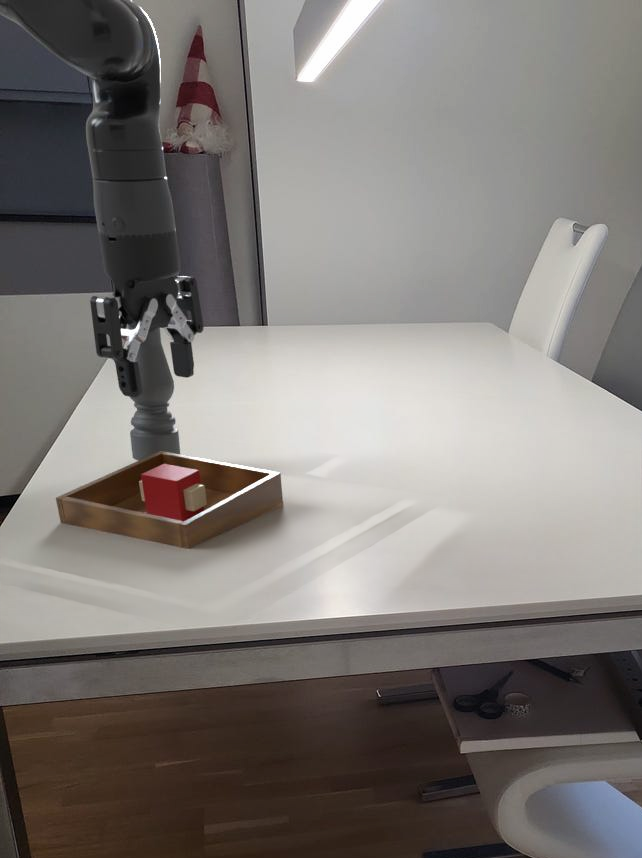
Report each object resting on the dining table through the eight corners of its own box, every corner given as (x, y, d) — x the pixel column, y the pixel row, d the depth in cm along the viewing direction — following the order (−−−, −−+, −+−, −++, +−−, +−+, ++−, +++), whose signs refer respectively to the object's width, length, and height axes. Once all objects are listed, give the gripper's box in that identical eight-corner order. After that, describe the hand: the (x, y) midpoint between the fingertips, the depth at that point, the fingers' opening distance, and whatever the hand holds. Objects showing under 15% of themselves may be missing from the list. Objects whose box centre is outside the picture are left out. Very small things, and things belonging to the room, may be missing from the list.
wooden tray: (62, 533, 116) (55, 497, 114) (165, 483, 131) (160, 450, 128) (190, 562, 110) (185, 525, 108) (283, 506, 124) (280, 472, 122)
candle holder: (190, 453, 141) (173, 256, 130) (163, 464, 135) (143, 260, 125) (150, 448, 142) (131, 253, 132) (122, 458, 137) (100, 257, 127)
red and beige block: (138, 513, 120) (132, 472, 117) (161, 502, 123) (155, 461, 120) (190, 524, 117) (185, 482, 115) (212, 512, 120) (207, 471, 118)
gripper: (153, 216, 112) (173, 366, 120) (56, 232, 101) (85, 398, 109) (210, 220, 109) (227, 374, 117) (117, 238, 98) (142, 407, 106)
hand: (159, 385), depth 113 cm, fingers open, 8 cm apart
